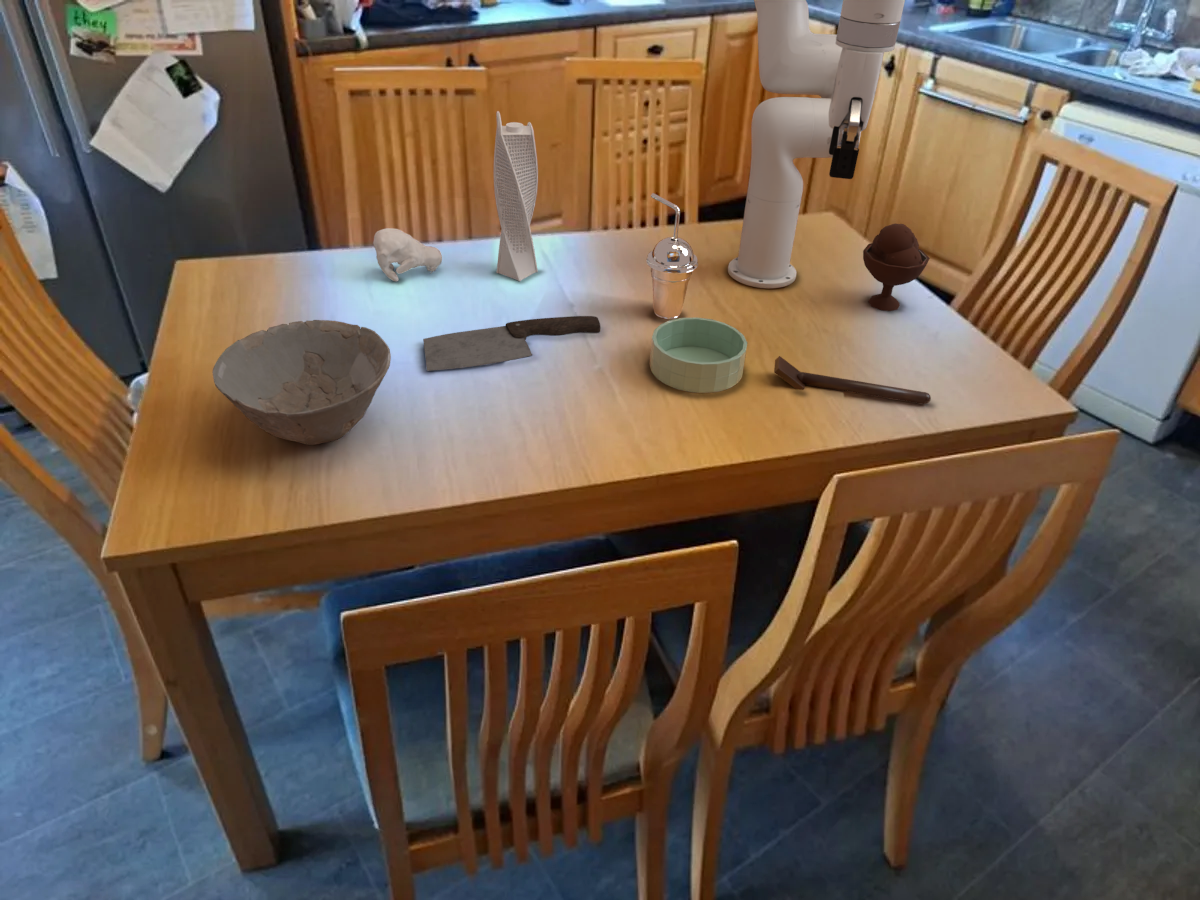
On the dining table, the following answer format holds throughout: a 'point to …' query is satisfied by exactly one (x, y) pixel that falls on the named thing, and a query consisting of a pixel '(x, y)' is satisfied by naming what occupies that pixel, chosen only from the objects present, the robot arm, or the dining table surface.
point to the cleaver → (498, 341)
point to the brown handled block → (845, 384)
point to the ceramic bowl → (304, 378)
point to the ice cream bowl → (893, 262)
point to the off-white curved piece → (403, 252)
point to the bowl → (697, 355)
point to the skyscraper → (515, 197)
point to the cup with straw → (670, 270)
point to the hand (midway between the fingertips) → (840, 165)
